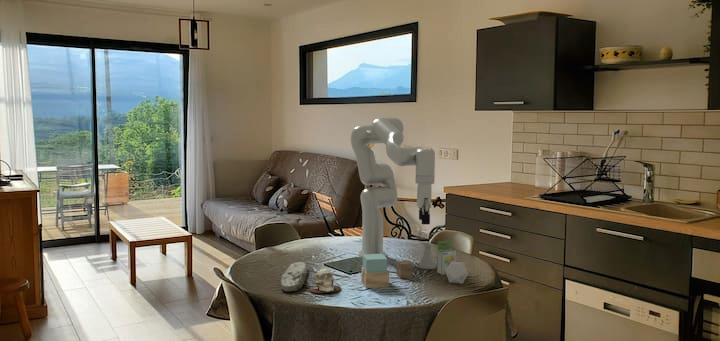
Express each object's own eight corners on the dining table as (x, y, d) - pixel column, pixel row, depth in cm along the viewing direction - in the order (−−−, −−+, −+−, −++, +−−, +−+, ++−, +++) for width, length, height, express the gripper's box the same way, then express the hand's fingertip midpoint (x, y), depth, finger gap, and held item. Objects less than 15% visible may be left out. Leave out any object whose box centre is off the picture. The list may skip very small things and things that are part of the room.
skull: (347, 290, 216) (329, 271, 213) (327, 310, 215) (309, 292, 211) (338, 279, 227) (321, 262, 224) (319, 299, 226) (301, 281, 223)
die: (456, 288, 224) (471, 268, 225) (438, 274, 228) (453, 254, 228) (459, 290, 232) (474, 270, 232) (442, 276, 235) (456, 257, 236)
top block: (362, 266, 230) (362, 254, 229) (382, 266, 231) (382, 253, 231) (366, 272, 222) (366, 259, 221) (387, 271, 223) (387, 258, 223)
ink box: (442, 275, 239) (442, 243, 237) (436, 273, 242) (437, 241, 241) (456, 273, 242) (456, 241, 240) (450, 271, 245) (451, 239, 244)
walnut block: (397, 275, 240) (397, 260, 239) (408, 274, 241) (409, 260, 240) (400, 278, 235) (400, 263, 234) (412, 277, 236) (412, 263, 235)
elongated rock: (311, 271, 250) (288, 272, 250) (311, 258, 249) (287, 259, 249) (304, 292, 215) (277, 293, 215) (303, 278, 215) (276, 279, 214)
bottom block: (361, 281, 231) (361, 266, 230) (383, 280, 232) (383, 265, 232) (365, 288, 222) (365, 273, 221) (389, 287, 224) (389, 271, 223)
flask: (435, 270, 247) (435, 247, 246) (417, 269, 248) (418, 246, 247) (436, 265, 254) (436, 243, 253) (419, 264, 255) (420, 242, 254)
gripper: (413, 177, 243) (412, 217, 245) (417, 182, 226) (417, 226, 228) (431, 177, 243) (430, 218, 245) (437, 182, 226) (436, 226, 228)
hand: (424, 221), depth 236 cm, fingers open, 9 cm apart
